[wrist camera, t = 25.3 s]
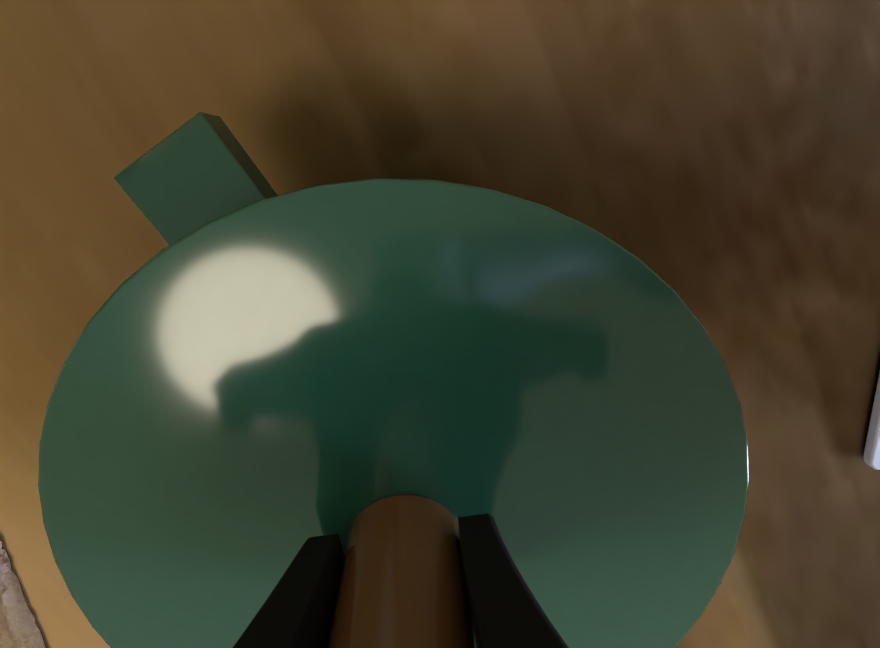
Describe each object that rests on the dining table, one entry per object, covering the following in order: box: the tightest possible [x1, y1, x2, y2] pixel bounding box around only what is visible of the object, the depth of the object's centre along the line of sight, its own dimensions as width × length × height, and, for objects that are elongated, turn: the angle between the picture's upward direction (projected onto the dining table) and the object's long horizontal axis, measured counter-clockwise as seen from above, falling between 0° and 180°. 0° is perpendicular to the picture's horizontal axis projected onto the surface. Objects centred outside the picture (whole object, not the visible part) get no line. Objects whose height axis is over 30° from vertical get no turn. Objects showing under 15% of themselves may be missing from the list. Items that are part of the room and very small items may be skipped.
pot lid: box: [38, 178, 749, 648], centre depth 9 cm, size 15×15×5 cm
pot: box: [114, 112, 278, 245], centre depth 14 cm, size 14×19×6 cm
